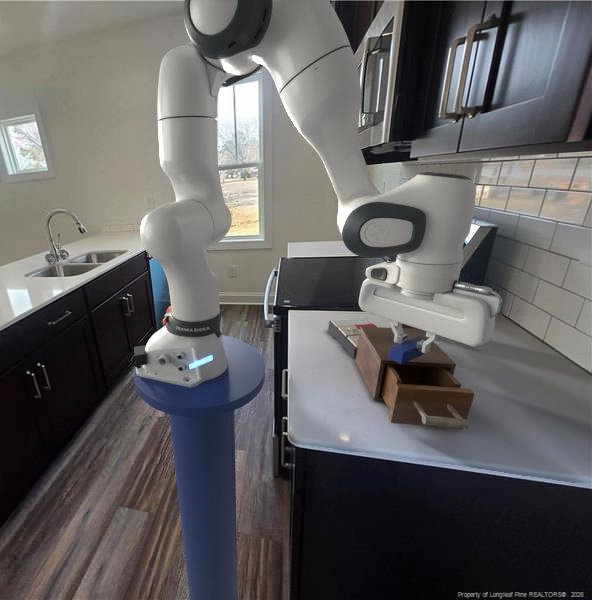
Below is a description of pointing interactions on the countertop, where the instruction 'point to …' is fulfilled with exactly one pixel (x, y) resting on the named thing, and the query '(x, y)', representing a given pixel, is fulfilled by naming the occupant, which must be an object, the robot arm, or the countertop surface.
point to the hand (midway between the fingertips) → (410, 346)
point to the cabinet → (377, 351)
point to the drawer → (425, 396)
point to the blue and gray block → (405, 350)
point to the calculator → (348, 332)
